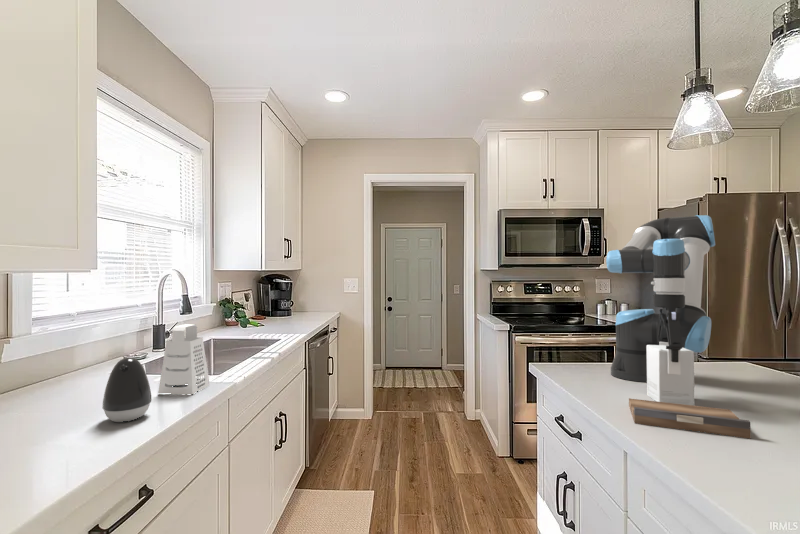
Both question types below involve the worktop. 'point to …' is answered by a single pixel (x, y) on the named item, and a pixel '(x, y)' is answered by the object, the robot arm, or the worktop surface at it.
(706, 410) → the shelf board
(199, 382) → the grater
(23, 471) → the worktop surface
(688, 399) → the supplement box
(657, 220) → the robot arm
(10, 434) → the worktop surface
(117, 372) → the black egg-shaped figure
